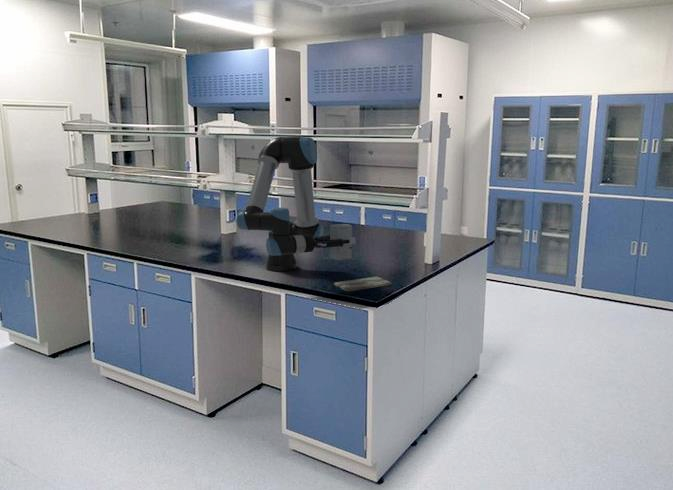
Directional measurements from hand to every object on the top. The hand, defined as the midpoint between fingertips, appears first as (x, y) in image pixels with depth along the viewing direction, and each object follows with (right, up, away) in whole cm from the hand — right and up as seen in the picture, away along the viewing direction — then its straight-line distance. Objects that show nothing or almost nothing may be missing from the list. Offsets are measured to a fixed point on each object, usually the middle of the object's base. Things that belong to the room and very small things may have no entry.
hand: (351, 239), depth 241 cm
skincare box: (-5, -9, -1) cm, 10 cm away
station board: (+5, -20, -2) cm, 21 cm away
